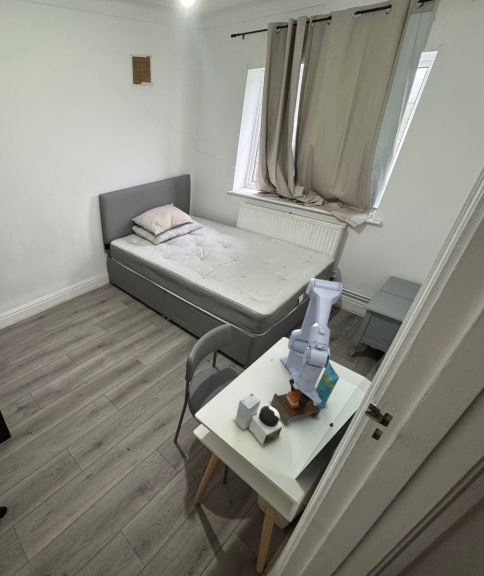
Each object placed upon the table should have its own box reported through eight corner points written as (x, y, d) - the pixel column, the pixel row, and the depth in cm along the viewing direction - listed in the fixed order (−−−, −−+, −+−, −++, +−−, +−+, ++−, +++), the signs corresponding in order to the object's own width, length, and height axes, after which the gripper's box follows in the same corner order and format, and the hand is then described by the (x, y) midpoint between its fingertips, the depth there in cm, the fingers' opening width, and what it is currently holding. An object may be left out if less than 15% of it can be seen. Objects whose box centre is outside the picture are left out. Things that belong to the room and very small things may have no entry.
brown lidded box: (301, 396, 116) (305, 387, 113) (317, 417, 109) (322, 407, 106) (270, 403, 114) (274, 393, 111) (284, 425, 107) (288, 415, 104)
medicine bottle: (262, 446, 101) (270, 426, 94) (248, 428, 107) (254, 408, 100) (278, 437, 104) (287, 417, 97) (263, 420, 109) (270, 400, 102)
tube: (306, 394, 117) (321, 360, 106) (319, 393, 117) (335, 360, 106) (316, 411, 111) (333, 377, 100) (329, 410, 111) (347, 377, 100)
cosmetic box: (243, 430, 106) (249, 410, 99) (234, 420, 109) (239, 400, 102) (255, 421, 109) (261, 401, 102) (245, 412, 112) (251, 391, 105)
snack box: (302, 396, 111) (305, 387, 108) (308, 405, 108) (312, 396, 105) (284, 400, 110) (288, 391, 107) (291, 409, 107) (294, 400, 104)
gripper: (284, 361, 106) (276, 386, 113) (312, 395, 94) (300, 420, 102) (302, 357, 107) (293, 382, 115) (331, 391, 95) (319, 416, 103)
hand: (297, 400), depth 108 cm, fingers closed on snack box, 4 cm apart
